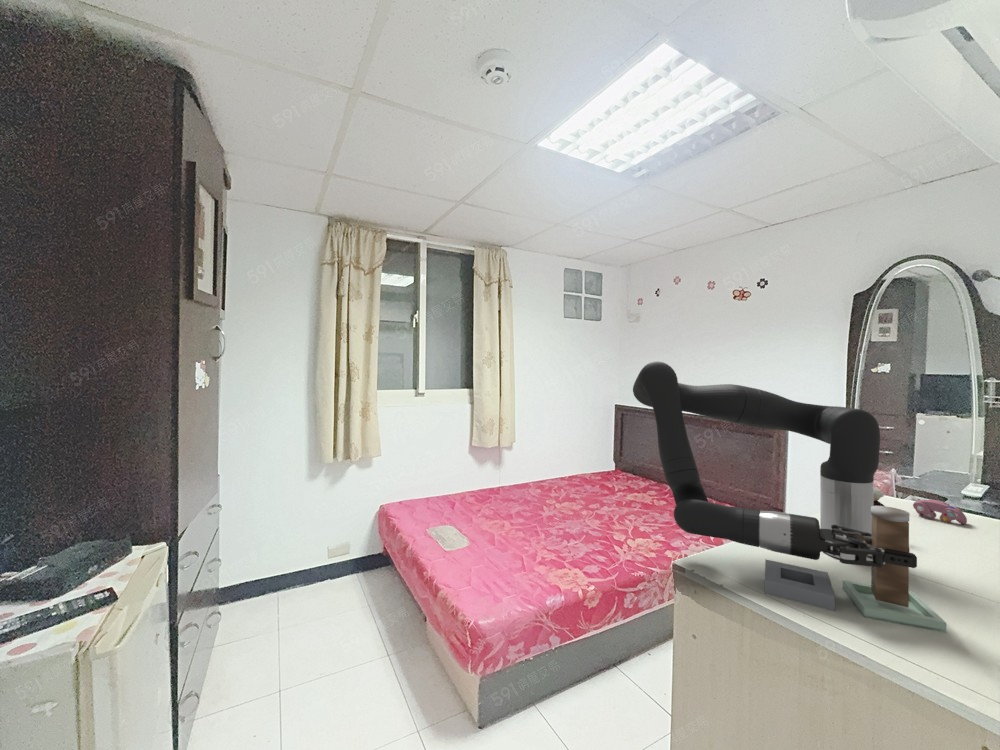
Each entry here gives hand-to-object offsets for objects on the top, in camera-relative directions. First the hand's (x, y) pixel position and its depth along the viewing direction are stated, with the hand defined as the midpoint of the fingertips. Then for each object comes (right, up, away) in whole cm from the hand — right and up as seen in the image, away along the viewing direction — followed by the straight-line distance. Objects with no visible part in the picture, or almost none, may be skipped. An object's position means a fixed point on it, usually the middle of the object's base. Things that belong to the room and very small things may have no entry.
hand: (911, 555), depth 69 cm
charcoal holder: (-14, -10, +8) cm, 19 cm away
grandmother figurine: (+24, -10, +34) cm, 43 cm away
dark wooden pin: (-2, -8, +2) cm, 8 cm away
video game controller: (+53, -10, +45) cm, 71 cm away
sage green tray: (-2, -10, +2) cm, 11 cm away
